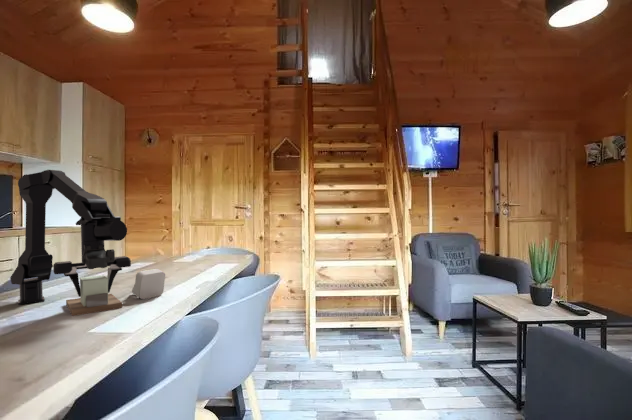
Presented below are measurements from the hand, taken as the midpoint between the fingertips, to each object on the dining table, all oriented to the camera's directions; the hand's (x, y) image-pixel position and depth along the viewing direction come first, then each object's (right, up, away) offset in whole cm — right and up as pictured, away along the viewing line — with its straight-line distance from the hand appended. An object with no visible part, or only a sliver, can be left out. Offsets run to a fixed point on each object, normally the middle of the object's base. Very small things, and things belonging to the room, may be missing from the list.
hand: (94, 294), depth 107 cm
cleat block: (0, -2, 0) cm, 2 cm away
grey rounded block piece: (+8, -4, +14) cm, 17 cm away
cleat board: (-1, -4, +1) cm, 4 cm away
